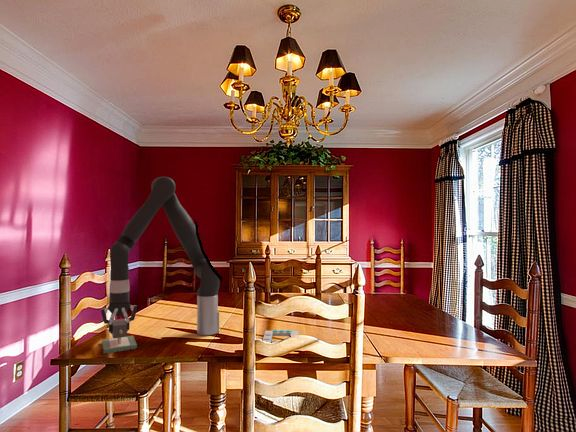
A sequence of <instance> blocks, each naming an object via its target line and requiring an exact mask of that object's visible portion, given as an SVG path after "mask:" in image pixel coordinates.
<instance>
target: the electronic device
mask: <svg viewBox="0 0 576 432" xmlns="http://www.w3.org/2000/svg"><path fill="white" fill-rule="evenodd" d="M293 335H298V336H299V330H290V329H287V330H284V329H281V330H277V329H275V330H274V329H273V330H265V331H264V334H263V338H262V341H266V342H278V341H279V340H277V341H276V340H273V336H289V337H290V336H293Z"/></svg>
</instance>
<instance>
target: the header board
mask: <svg viewBox="0 0 576 432" xmlns="http://www.w3.org/2000/svg"><path fill="white" fill-rule="evenodd" d="M101 344H102V352H103V355H104V354H111V352H112V353H118V352H123V351H124V350H125V351H129V350H130V349H131V350H137V349H138V343H137V341H136V340H135V337H134V335H127V337H121V344H118V341H117V338H114V339H113V337H112V338H106V339H102V340H101ZM136 348H137V349H136ZM117 351H118V352H117Z"/></svg>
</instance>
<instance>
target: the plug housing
mask: <svg viewBox="0 0 576 432" xmlns="http://www.w3.org/2000/svg"><path fill="white" fill-rule="evenodd" d="M112 324H113V334H111V336H112V338H113V339H114V338H121V337H127V336H128V332H127V323H126V319H125V318H118V319H117V318H116V319H114V320H113V323H112Z"/></svg>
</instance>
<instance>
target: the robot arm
mask: <svg viewBox="0 0 576 432" xmlns="http://www.w3.org/2000/svg"><path fill="white" fill-rule="evenodd" d="M150 189H151V192H150V194H149V195H148V197H147V199H146V200H145V202H144V203H143V204H142V206H141V207H140V208H139V209H138V210H137V211H136V212H135V214H133V216H132V217H131V219H130V220H129V221H128V223H127V224H126V225H125V227H124V228H123V231H122V232H121V234H120V235H119V237H118V238H117V240H116V241H115V242H114V244H112V245H111V246H110V248H109V249H110V250H109V263H110V273H109V277H110V278H109V287H108V288H109V291H108V292H109V294H108V295H109V297H108V300H109V301H108V302H109V303H108V306H107V307H105V308H104V307H102V308H101V309H100V312H101V316H102V320H103V321H102V322H103V323H104V324H105V325H108V332H109V333H110V335H112V334H113V324H112V323H113V320H115V317H119V316H120V317H121V316H124V317H123V318H124V319H125V320H126V323H127V333H128V331H130V323H131V322H132V321H135V318H136V314H137V309H138V306H137V305H136V304H134V305H133V304H131V303H130V290H131V287H130V269H129V254H130V252H131V251H132V249H133V248H134V245H135V244H136V243H137V241H138V240H139V239H140V237H141V236H142V234H143V233H144V232H145V230H146V229H147V228H148V226H149V224H150V223H151V221H152V220H153V218H154V217H155V216H156V214H157V212H158V211H159V210H160V209H161V208H162V209H163V210H164V212H165V214H166V217H167V219H168V221H169V224H170V226H171V228H172V230H173V232H174V234H175V235H176V238H177V239H178V241H179V242H180V244H181V246H182V248H183V250H184V251H185V253H186V254H187V256H188V258H189V261H190V263H191V266H192V268H193V271H194V273H195V275H196V276H197V277H198V279H200V284H199V288H198V289H197V291H196V293H197V294H196V296H197V297H196V306H197V307H196V309H197V310H196V311H197V312H196V316H197V317H196V320H197V321H196V323H197V324H196V326H197V327H196V334H198V335H200V336H212V335H215V334H218V333H220V311H218V309H219V306H218V303H219V294H218V293H219V289H220V285H221V283H220V282H221V278H220V277H219V276H218V275H217V274H216V272H215V271H214V270H213V269H212V267H211V266H210V264H209V262H208V260H207V258H206V256H205V255H204V253H203V251H202V248H201V244H200V241H199V238H198V234H197V226H196V223H195V222H194V221H193V219H192V217H191V216H190V215H189V214H188V212H187V210H186V209H185V208H184V207H183V205H182V204H181V203H180V201H179V199H178V197H177V194H176V193H175V192H176V189H177V188H176V183H175V181H174V180H173V178H171V177H168V176H159V177H156V178H155V179H154V180H152V182H151V187H150ZM129 310H131V314H130V316H129V315H128V311H129ZM108 311H109V312H110V313H111V314H110V318H109V319H107V315H106V314H107V313H108Z"/></svg>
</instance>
